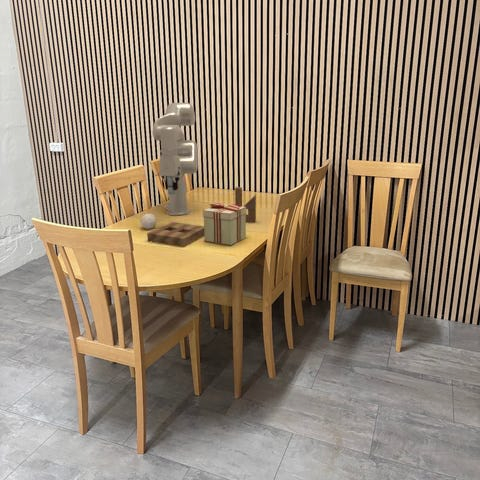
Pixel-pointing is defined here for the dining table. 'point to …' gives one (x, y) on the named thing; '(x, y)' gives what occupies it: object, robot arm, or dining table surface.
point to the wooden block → (246, 205)
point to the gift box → (224, 223)
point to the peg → (170, 185)
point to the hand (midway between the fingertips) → (171, 189)
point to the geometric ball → (148, 221)
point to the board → (176, 234)
